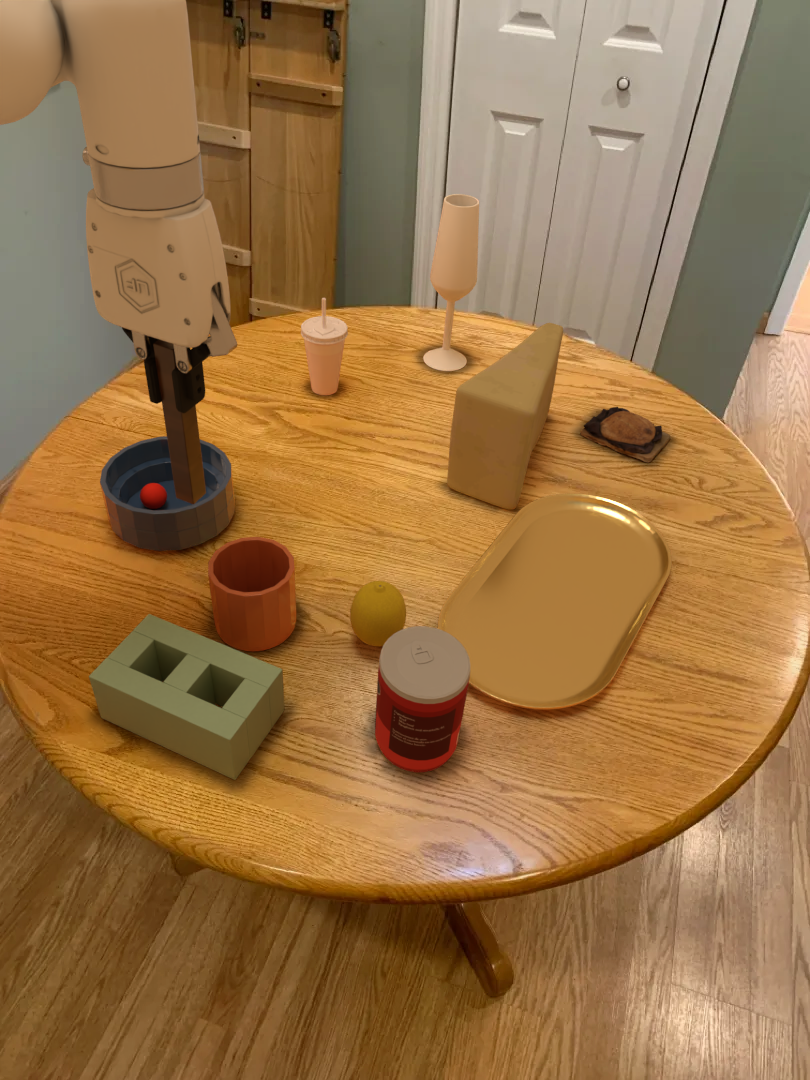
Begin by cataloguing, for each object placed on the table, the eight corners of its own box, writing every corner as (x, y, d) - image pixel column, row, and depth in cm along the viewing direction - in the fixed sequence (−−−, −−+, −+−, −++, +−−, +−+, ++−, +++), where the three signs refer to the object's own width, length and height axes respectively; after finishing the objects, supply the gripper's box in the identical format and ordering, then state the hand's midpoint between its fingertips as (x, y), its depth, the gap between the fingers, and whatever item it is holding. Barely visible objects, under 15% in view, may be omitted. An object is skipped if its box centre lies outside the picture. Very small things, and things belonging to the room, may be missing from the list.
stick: (193, 504, 78) (173, 350, 67) (175, 498, 78) (152, 343, 68) (206, 493, 79) (188, 339, 68) (188, 486, 80) (168, 333, 69)
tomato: (141, 514, 97) (137, 494, 95) (142, 498, 99) (139, 478, 97) (167, 513, 98) (164, 493, 96) (169, 497, 100) (165, 477, 98)
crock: (215, 654, 83) (207, 598, 78) (215, 595, 89) (208, 539, 84) (298, 648, 85) (296, 592, 79) (293, 590, 91) (291, 534, 85)
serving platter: (402, 661, 84) (403, 651, 83) (545, 484, 107) (547, 474, 106) (576, 750, 78) (579, 740, 77) (689, 541, 101) (692, 531, 100)
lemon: (386, 670, 83) (390, 615, 78) (339, 647, 85) (339, 591, 80) (413, 634, 87) (419, 579, 82) (367, 613, 89) (369, 558, 83)
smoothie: (299, 398, 118) (296, 306, 109) (305, 374, 123) (303, 284, 114) (344, 402, 118) (346, 309, 109) (348, 378, 123) (350, 287, 114)
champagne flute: (437, 374, 125) (453, 212, 109) (415, 353, 130) (427, 194, 114) (475, 365, 128) (496, 206, 112) (452, 345, 132) (469, 188, 116)
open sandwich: (672, 439, 117) (680, 417, 114) (647, 466, 111) (654, 444, 109) (603, 410, 121) (609, 388, 119) (575, 435, 116) (581, 412, 113)
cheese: (509, 405, 120) (525, 308, 110) (573, 426, 117) (596, 328, 107) (441, 488, 105) (453, 384, 95) (513, 514, 102) (534, 410, 92)
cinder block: (235, 780, 73) (229, 740, 69) (100, 717, 77) (88, 676, 73) (285, 709, 79) (282, 668, 75) (157, 655, 83) (148, 613, 79)
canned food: (422, 690, 82) (432, 612, 74) (475, 748, 77) (491, 672, 70) (356, 726, 78) (360, 648, 71) (408, 790, 73) (417, 714, 66)
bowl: (103, 558, 92) (93, 517, 88) (115, 478, 103) (107, 438, 99) (235, 550, 95) (231, 509, 91) (234, 473, 105) (230, 433, 101)
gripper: (21, 169, 59) (73, 394, 71) (211, 220, 55) (231, 451, 67) (94, 141, 64) (131, 356, 77) (273, 186, 60) (281, 406, 72)
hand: (178, 398), depth 72 cm, fingers closed on stick, 2 cm apart
